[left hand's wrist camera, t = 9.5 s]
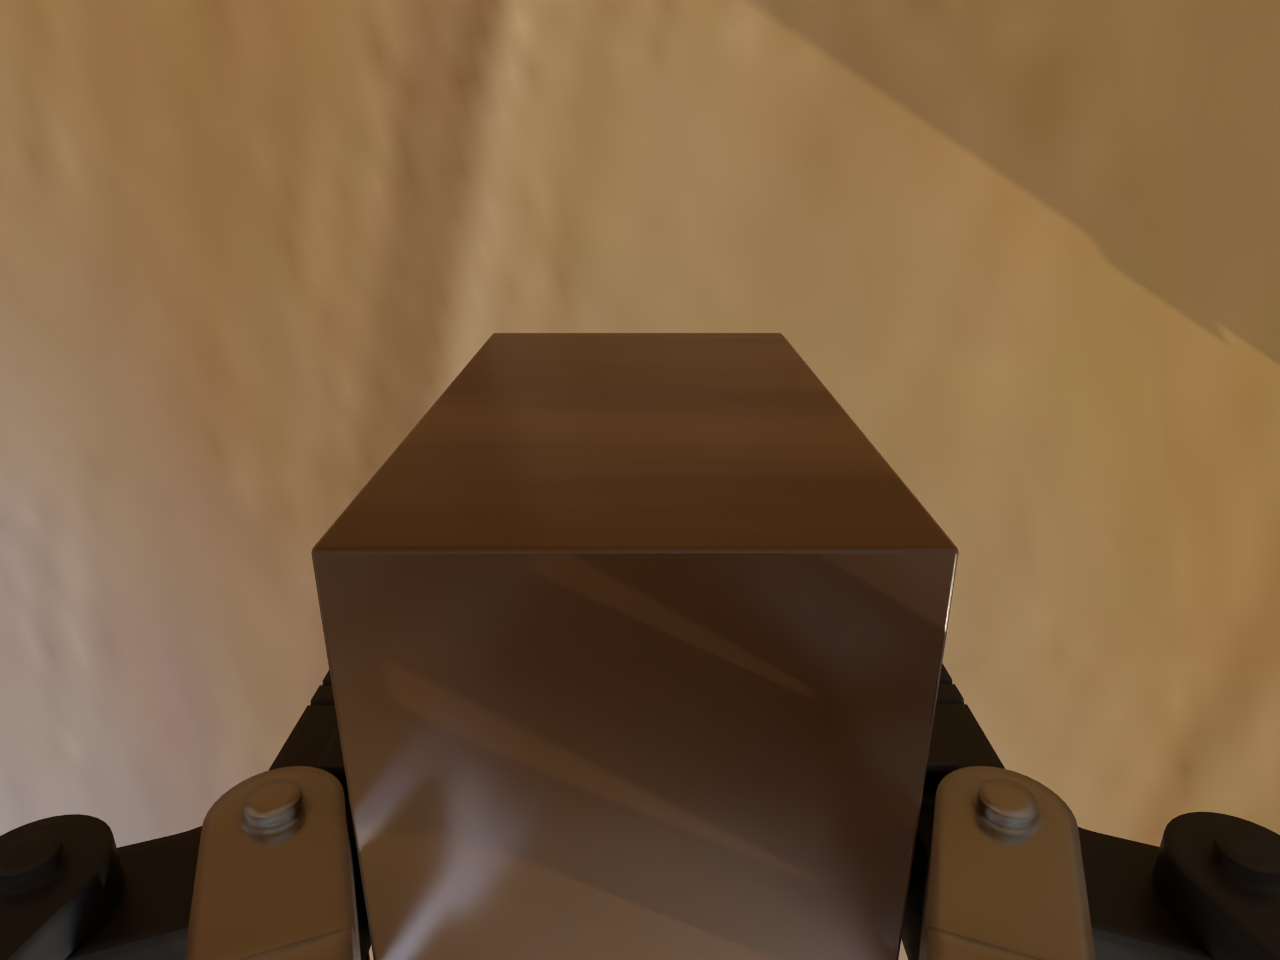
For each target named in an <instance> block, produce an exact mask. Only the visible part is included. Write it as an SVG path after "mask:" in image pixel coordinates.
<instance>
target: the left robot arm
mask: <svg viewBox="0 0 1280 960" xmlns="http://www.w3.org/2000/svg"><path fill="white" fill-rule="evenodd" d="M901 939H902V942H903V945H904V948H905V951H906V954H907V957H908V960H1280V835H1278V834H1277V833H1275V832H1273V831H1271V830H1269V829H1267V828H1265V827H1262V826H1260V825H1257V824H1255V823H1253V822H1250V821H1247V820H1244V819H1241V818H1238V817H1234V816H1230V815H1225V814H1220V813H1212V812H1193V813H1187V814H1183V815H1180V816H1178V817H1176V818H1174V819H1172V820H1171V821H1170V822H1169V823H1168V824H1167V826H1166V829H1165V831H1164V834H1163V838H1162V841H1161V845H1160V847H1157V846H1152V845H1148V844H1144V843H1139V842H1135V841H1131V840H1126V839H1122V838H1118V837H1113V836H1109V835H1105V834H1100V833H1096V832H1093V831H1089V830H1086V829H1082V828H1080V827H1078V825H1077V822H1076V819H1075V817H1074V815H1073V813H1072V811H1071V810H1070V808H1069V807H1068V806H1067V804H1066V803H1065V802H1064V801H1063V800H1062V799H1061V798H1060V797H1059V796H1058V795H1057V794H1055V793H1054V792H1053V791H1051V790H1050V789H1049V788H1047V787H1046V786H1044V785H1043V784H1041V783H1039V782H1038V781H1036V780H1034V779H1032V778H1030V777H1027V776H1025V775H1022V774H1020V773H1017V772H1014V771H1010V770H1007V769H1005V768H1004V766H1003V764H1002V763H1001V761H1000V759H999V758H998V756H997V754H996V753H995V751H994V749H993V748H992V746H991V744H990V743H989V741H988V739H987V738H986V736H985V734H984V732H983V731H982V729H981V727H980V726H979V724H978V722H977V721H976V719H975V717H974V716H973V714H972V712H971V711H970V709H969V707H968V706H967V704H964V699H963V697H962V696H961V694H960V692H959V690H958V689H957V687H956V685H955V684H952V679H951V677H950V675H949V674H948V672H947V670H946V669H945V667H944V665H943V664H942V667H941V674H940V681H939V687H938V694H937V701H936V707H935V714H934V721H933V728H932V734H931V741H930V748H929V755H928V761H927V768H926V775H925V782H924V788H923V795H922V802H921V809H920V815H919V822H918V829H917V836H916V842H915V849H914V856H913V863H912V869H911V876H910V883H909V890H908V896H907V903H906V910H905V917H904V923H903V930H902V937H901ZM370 946H371V938H370V932H369V925H368V919H367V912H366V906H365V899H364V892H363V886H362V879H361V873H360V866H359V860H358V853H357V847H356V840H355V834H354V827H353V821H352V814H351V807H350V801H349V794H348V788H347V781H346V775H345V768H344V762H343V755H342V749H341V742H340V736H339V729H338V722H337V716H336V709H335V703H334V696H333V690H332V683H331V677H330V670H329V671H328V673H327V675H326V676H325V678H324V679H323V685H320V686H319V688H318V689H317V691H316V693H315V694H314V696H313V698H312V699H311V705H310V706H307V708H306V709H305V711H304V713H303V714H302V716H301V718H300V719H299V721H298V723H297V724H296V726H295V728H294V729H293V731H292V732H291V734H290V736H289V737H288V739H287V741H286V742H285V744H284V746H283V747H282V749H281V751H280V752H279V754H278V756H277V757H276V759H275V761H274V762H273V764H272V766H271V767H270V769H269V771H266V772H263V773H260V774H258V775H255V776H253V777H250V778H248V779H246V780H244V781H242V782H241V783H239V784H237V785H236V786H234V787H233V788H231V789H230V790H229V791H227V792H226V793H225V794H223V795H222V796H221V797H220V798H219V799H218V800H217V801H216V802H215V803H214V804H213V806H212V807H211V808H210V810H209V811H208V813H207V815H206V817H205V819H204V822H203V825H202V826H201V827H198V828H195V829H192V830H190V831H186V832H183V833H179V834H175V835H171V836H167V837H163V838H158V839H154V840H150V841H145V842H141V843H137V844H132V845H128V846H124V847H119V848H117V847H116V844H115V840H114V837H113V834H112V831H111V829H110V827H109V826H108V825H107V824H106V823H105V822H104V821H102V820H100V819H98V818H95V817H92V816H88V815H62V816H55V817H50V818H46V819H41V820H38V821H35V822H32V823H29V824H26V825H23V826H21V827H19V828H16V829H14V830H11V831H9V832H7V833H5V834H4V835H2V836H0V960H370V956H369V949H370Z"/></svg>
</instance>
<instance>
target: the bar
mask: <svg viewBox="0 0 1280 960" xmlns="http://www.w3.org/2000/svg"><path fill="white" fill-rule="evenodd" d="M312 559H313V565H314V572H315V579H316V585H317V592H318V598H319V605H320V611H321V618H322V624H323V631H324V637H325V644H326V650H327V657H328V664H329V670H330V677H331V683H332V690H333V696H334V703H335V709H336V716H337V722H338V729H339V736H340V742H341V749H342V755H343V762H344V768H345V775H346V781H347V788H348V794H349V801H350V807H351V814H352V821H353V827H354V834H355V840H356V847H357V853H358V860H359V866H360V873H361V879H362V886H363V892H364V899H365V906H366V912H367V919H368V925H369V932H370V938H371V945H372V951H373V958H374V960H898V957H899V950H900V944H901V937H902V930H903V923H904V917H905V910H906V903H907V896H908V890H909V883H910V876H911V869H912V863H913V856H914V849H915V842H916V836H917V829H918V822H919V815H920V809H921V802H922V795H923V788H924V782H925V775H926V768H927V761H928V755H929V748H930V741H931V734H932V728H933V721H934V714H935V707H936V701H937V694H938V687H939V681H940V674H941V667H942V660H943V654H944V647H945V640H946V633H947V627H948V620H949V613H950V606H951V600H952V593H953V586H954V579H955V573H956V566H957V559H958V549H957V547H956V546H955V545H954V543H953V542H952V541H951V540H950V539H949V537H948V536H947V535H946V534H945V532H944V531H943V530H942V529H941V528H940V526H939V525H938V524H937V523H936V522H935V520H934V519H933V518H932V517H931V515H930V514H929V513H928V512H927V511H926V509H925V508H924V507H923V506H922V504H921V503H920V502H919V501H918V500H917V498H916V497H915V496H914V495H913V493H912V492H911V491H910V490H909V489H908V487H907V486H906V485H905V484H904V482H903V481H902V480H901V479H900V478H899V476H898V475H897V474H896V473H895V471H894V470H893V469H892V468H891V467H890V465H889V464H888V463H887V462H886V460H885V459H884V458H883V457H882V456H881V454H880V453H879V452H878V451H877V450H876V448H875V447H874V446H873V445H872V443H871V442H870V441H869V440H868V439H867V437H866V436H865V435H864V434H863V432H862V431H861V430H860V429H859V428H858V426H857V425H856V424H855V423H854V421H853V420H852V419H851V418H850V417H849V415H848V414H847V413H846V412H845V410H844V409H843V408H842V407H841V406H840V404H839V403H838V402H837V401H836V399H835V398H834V397H833V396H832V395H831V393H830V392H829V391H828V390H827V389H826V387H825V386H824V385H823V384H822V382H821V381H820V380H819V379H818V378H817V376H816V375H815V374H814V373H813V371H812V370H811V369H810V368H809V367H808V365H807V364H806V363H805V362H804V360H803V359H802V358H801V357H800V356H799V354H798V353H797V352H796V351H795V349H794V348H793V347H792V346H791V345H790V343H789V342H788V341H787V340H786V338H785V337H784V336H783V335H782V334H781V333H494V334H493V335H492V336H491V337H490V338H489V339H488V341H487V342H486V343H485V344H484V345H483V346H482V348H481V349H480V350H479V351H478V352H477V354H476V355H475V356H474V357H473V358H472V360H471V361H470V362H469V363H468V364H467V366H466V367H465V368H464V369H463V370H462V371H461V373H460V374H459V375H458V376H457V377H456V379H455V380H454V381H453V382H452V383H451V385H450V386H449V387H448V388H447V389H446V390H445V392H444V393H443V394H442V395H441V396H440V398H439V399H438V400H437V401H436V402H435V404H434V405H433V406H432V407H431V408H430V410H429V411H428V412H427V413H426V414H425V415H424V417H423V418H422V419H421V420H420V421H419V423H418V424H417V425H416V426H415V427H414V429H413V430H412V431H411V432H410V433H409V434H408V436H407V437H406V438H405V439H404V440H403V442H402V443H401V444H400V445H399V446H398V448H397V449H396V450H395V451H394V452H393V454H392V455H391V456H390V457H389V458H388V459H387V461H386V462H385V463H384V464H383V465H382V467H381V468H380V469H379V470H378V471H377V473H376V474H375V475H374V476H373V477H372V478H371V480H370V481H369V482H368V483H367V484H366V486H365V487H364V488H363V489H362V490H361V492H360V493H359V494H358V495H357V496H356V498H355V499H354V500H353V501H352V502H351V503H350V505H349V506H348V507H347V508H346V509H345V511H344V512H343V513H342V514H341V515H340V517H339V518H338V519H337V520H336V521H335V522H334V524H333V525H332V526H331V527H330V528H329V530H328V531H327V532H326V533H325V534H324V536H323V537H322V538H321V539H320V540H319V542H318V543H317V544H316V545H315V546H314V547H313V549H312Z"/></svg>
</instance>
